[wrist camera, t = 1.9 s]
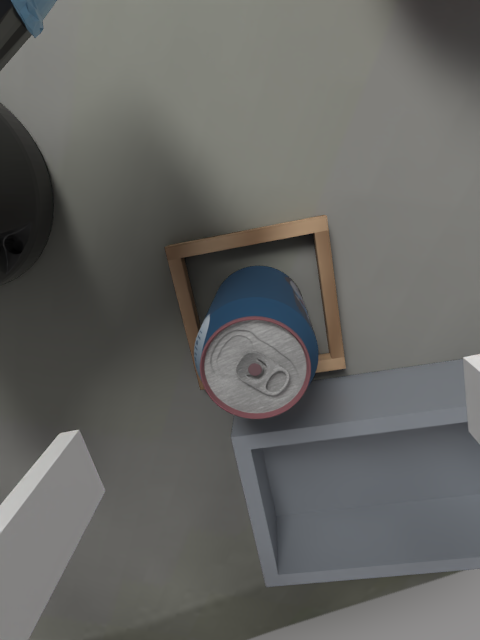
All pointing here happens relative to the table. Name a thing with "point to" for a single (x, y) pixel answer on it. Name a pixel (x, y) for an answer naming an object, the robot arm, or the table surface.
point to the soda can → (256, 344)
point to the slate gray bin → (364, 478)
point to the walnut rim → (255, 236)
